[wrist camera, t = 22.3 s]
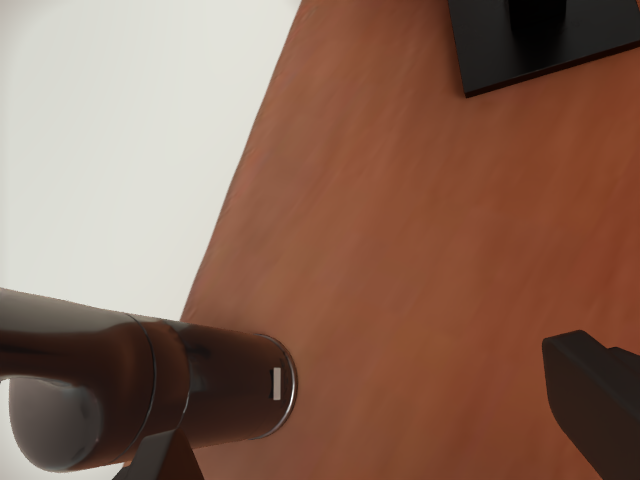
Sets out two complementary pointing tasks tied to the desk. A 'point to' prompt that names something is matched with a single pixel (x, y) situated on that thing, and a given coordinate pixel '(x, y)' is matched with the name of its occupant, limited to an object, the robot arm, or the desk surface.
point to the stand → (536, 37)
